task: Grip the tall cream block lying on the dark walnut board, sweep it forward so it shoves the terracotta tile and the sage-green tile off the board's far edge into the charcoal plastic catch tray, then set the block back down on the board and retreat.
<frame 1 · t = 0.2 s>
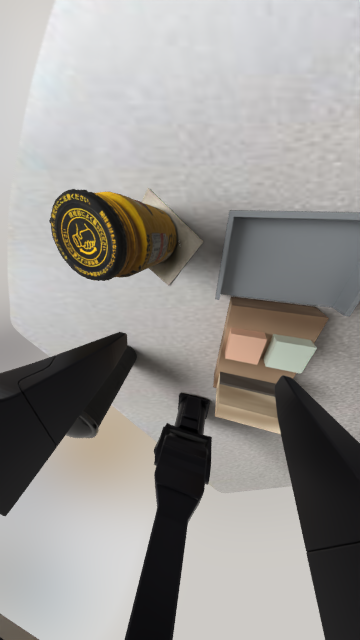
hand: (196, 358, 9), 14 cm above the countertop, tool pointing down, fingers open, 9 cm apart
tile terracotta: (243, 342, 21), point 3 cm above the countertop, touching walnut board
tall cream block: (247, 386, 24), point 3 cm above the countertop, touching walnut board
drinking cup: (126, 353, 32), on the countertop
catch tray: (284, 262, 18), on the countertop
condiment: (160, 242, 20), on the countertop
walnut board: (254, 346, 24), on the countertop
tile sage: (285, 349, 20), point 3 cm above the countertop, touching walnut board
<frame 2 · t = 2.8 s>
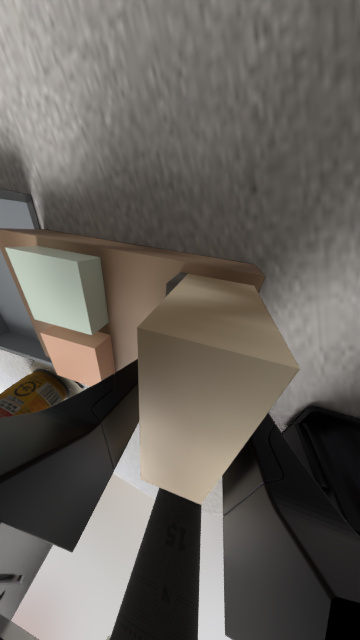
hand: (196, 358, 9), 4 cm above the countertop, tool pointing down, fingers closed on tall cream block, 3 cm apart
tile terracotta: (89, 349, 12), point 3 cm above the countertop, touching walnut board
tall cream block: (201, 353, 9), point 3 cm above the countertop, touching gripper, walnut board
drinking cup: (186, 456, 23), on the countertop
catch tray: (18, 283, 15), on the countertop
condiment: (55, 381, 23), on the countertop
walnut board: (138, 311, 13), on the countertop
tile sage: (75, 286, 9), point 3 cm above the countertop, touching walnut board
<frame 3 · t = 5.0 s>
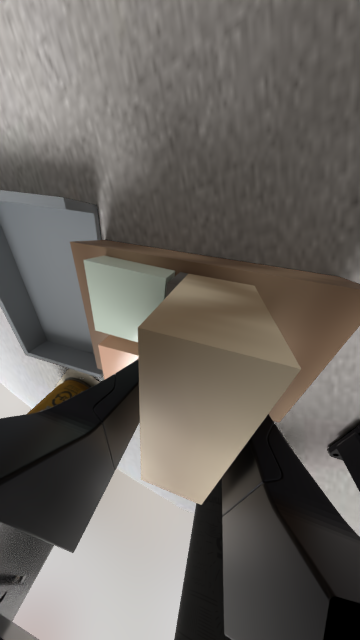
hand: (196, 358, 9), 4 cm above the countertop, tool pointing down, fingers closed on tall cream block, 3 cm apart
tile terracotta: (138, 360, 12), point 3 cm above the countertop, touching gripper
tall cream block: (201, 353, 9), point 4 cm above the countertop, touching gripper
drinking cup: (219, 463, 23), on the countertop
catch tray: (65, 293, 14), on the countertop
condiment: (86, 389, 22), on the countertop
walnut board: (196, 322, 13), on the countertop
tile sage: (138, 297, 9), point 3 cm above the countertop, touching gripper
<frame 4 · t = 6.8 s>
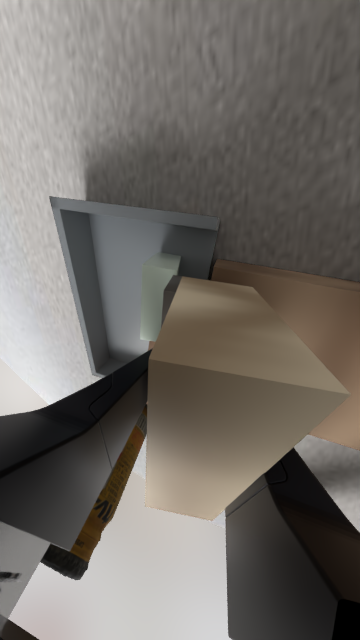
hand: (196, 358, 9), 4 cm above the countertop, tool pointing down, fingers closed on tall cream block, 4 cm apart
tall cream block: (198, 358, 9), point 4 cm above the countertop, tilted 8°, touching gripper, tile sage, tile terracotta
catch tray: (146, 311, 13), on the countertop
condiment: (137, 405, 21), on the countertop
walnut board: (303, 348, 11), on the countertop
tile sage: (174, 296, 9), point 2 cm above the countertop, tilted 78°, touching catch tray, tall cream block
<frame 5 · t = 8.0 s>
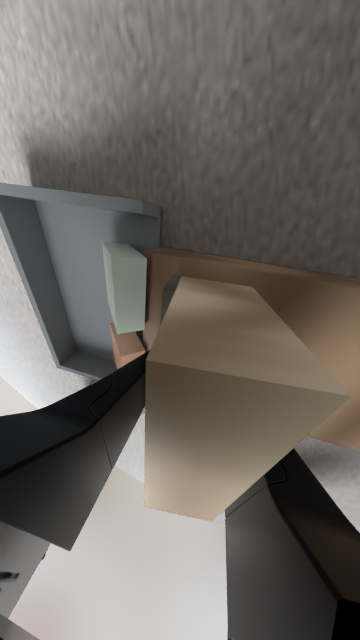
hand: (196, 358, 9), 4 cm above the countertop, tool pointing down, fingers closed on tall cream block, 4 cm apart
tile terracotta: (136, 353, 13), point 2 cm above the countertop, tilted 46°, touching catch tray, walnut board
tall cream block: (197, 358, 9), point 4 cm above the countertop, tilted 7°, touching gripper
catch tray: (105, 302, 13), on the countertop
walnut board: (256, 337, 11), on the countertop
tile sage: (135, 285, 10), point 2 cm above the countertop, tilted 49°, touching catch tray, walnut board
when the fingers open (4 cm above the countertop, at t = 9.0 s): tall cream block stays where it is, resting on walnut board.
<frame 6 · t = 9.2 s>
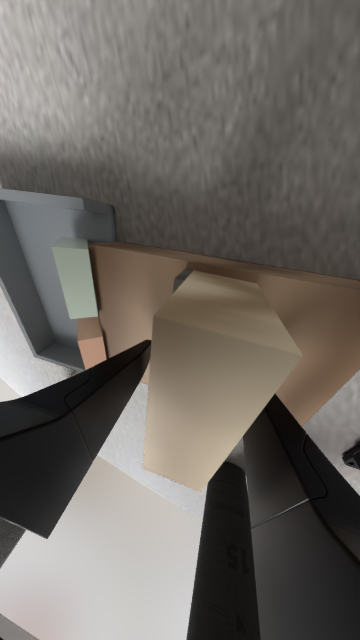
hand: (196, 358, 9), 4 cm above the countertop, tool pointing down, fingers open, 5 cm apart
tile terracotta: (102, 341, 13), point 2 cm above the countertop, tilted 46°, touching catch tray, walnut board
tall cream block: (203, 348, 10), point 3 cm above the countertop, touching walnut board
drinking cup: (227, 468, 23), on the countertop
catch tray: (76, 294, 14), on the countertop
walnut board: (210, 326, 12), on the countertop
tile sage: (92, 276, 11), point 2 cm above the countertop, tilted 49°, touching catch tray, walnut board
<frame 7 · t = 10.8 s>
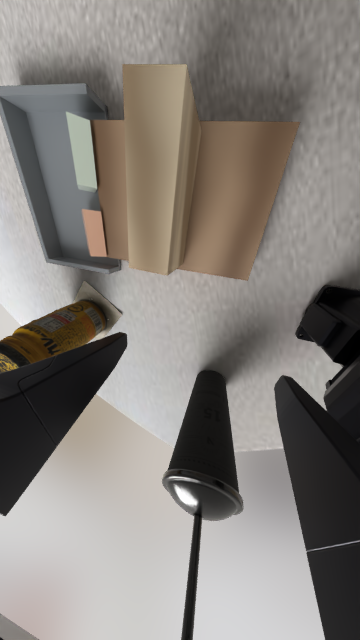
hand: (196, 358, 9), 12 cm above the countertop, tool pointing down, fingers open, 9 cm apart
tile terracotta: (101, 233, 17), point 2 cm above the countertop, tilted 46°, touching catch tray, walnut board
tall cream block: (173, 206, 13), point 3 cm above the countertop, touching walnut board
drinking cup: (210, 380, 26), on the countertop
catch tray: (80, 201, 18), on the countertop
condiment: (94, 313, 26), on the countertop
walnut board: (184, 212, 16), on the countertop
tile sage: (92, 162, 14), point 2 cm above the countertop, tilted 49°, touching catch tray, walnut board
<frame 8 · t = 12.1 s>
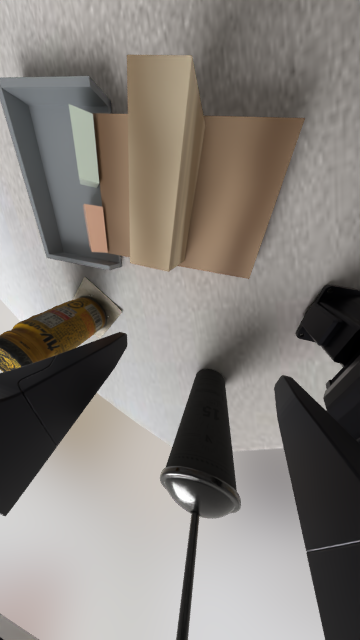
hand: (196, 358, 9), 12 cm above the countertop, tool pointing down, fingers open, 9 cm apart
tile terracotta: (102, 229, 17), point 2 cm above the countertop, tilted 46°, touching catch tray, walnut board
tall cream block: (175, 202, 13), point 3 cm above the countertop, touching walnut board
drinking cup: (210, 378, 26), on the countertop
catch tray: (81, 196, 18), on the countertop
condiment: (94, 309, 26), on the countertop
walnut board: (186, 209, 16), on the countertop
tile sage: (95, 157, 14), point 2 cm above the countertop, tilted 49°, touching catch tray, walnut board
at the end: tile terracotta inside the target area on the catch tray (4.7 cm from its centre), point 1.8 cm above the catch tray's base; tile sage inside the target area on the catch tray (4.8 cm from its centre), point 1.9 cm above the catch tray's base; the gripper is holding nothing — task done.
